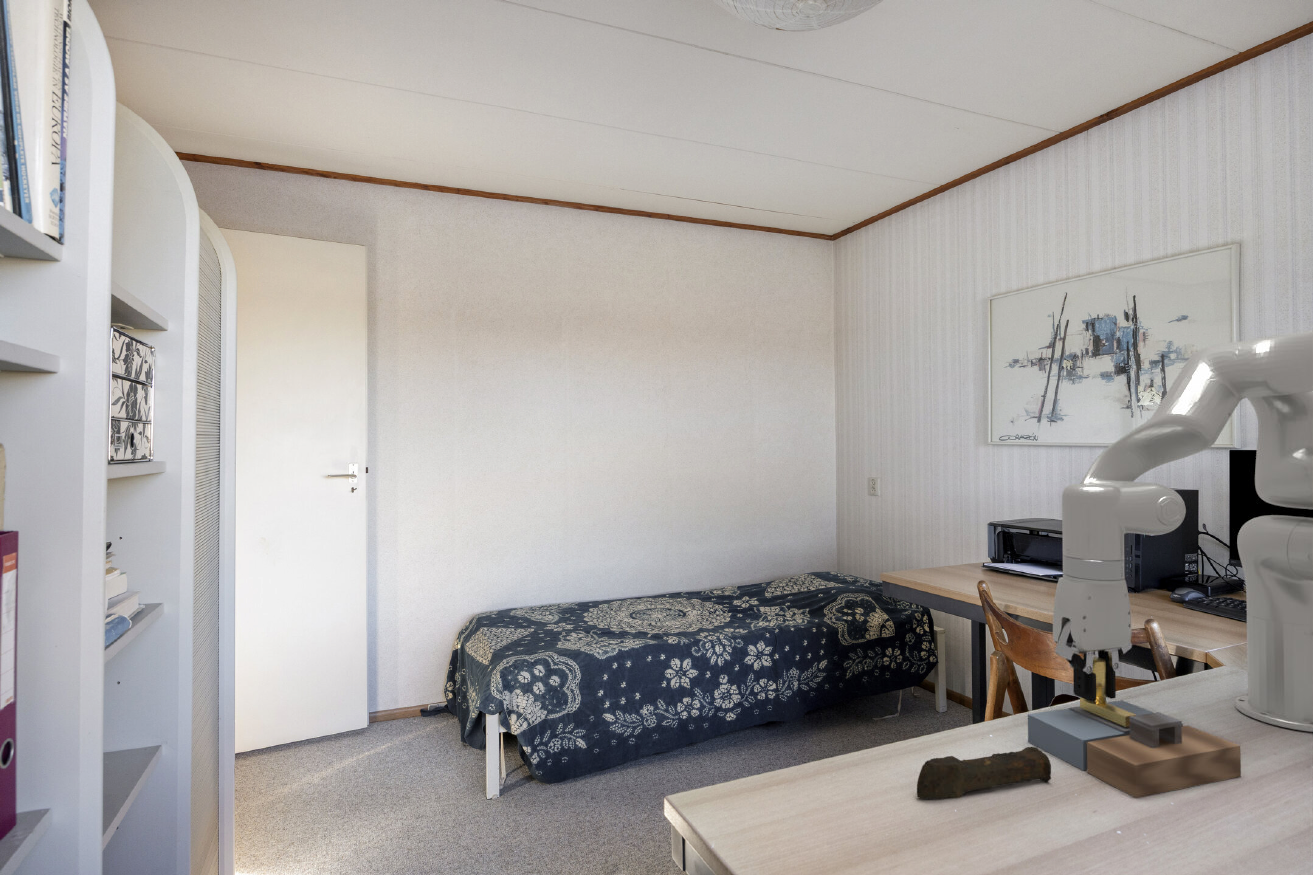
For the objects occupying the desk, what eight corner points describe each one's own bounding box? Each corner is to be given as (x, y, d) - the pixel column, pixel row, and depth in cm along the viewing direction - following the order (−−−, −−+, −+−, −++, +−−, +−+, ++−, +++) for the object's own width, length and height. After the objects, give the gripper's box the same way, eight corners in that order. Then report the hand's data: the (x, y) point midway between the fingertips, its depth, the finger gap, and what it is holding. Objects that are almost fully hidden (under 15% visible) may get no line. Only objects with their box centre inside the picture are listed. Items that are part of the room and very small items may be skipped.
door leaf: (1122, 726, 103) (1122, 698, 103) (1183, 752, 94) (1183, 721, 94) (1028, 741, 98) (1027, 711, 98) (1083, 770, 89) (1082, 737, 89)
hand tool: (1028, 771, 90) (1028, 736, 90) (1053, 786, 86) (1052, 749, 86) (904, 790, 85) (903, 753, 85) (924, 807, 81) (923, 768, 81)
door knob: (1092, 705, 99) (1092, 655, 99) (1138, 724, 92) (1138, 670, 93) (1077, 707, 98) (1077, 657, 98) (1123, 727, 92) (1122, 672, 92)
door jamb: (1187, 754, 94) (1187, 704, 94) (1240, 776, 87) (1240, 723, 87) (1087, 772, 88) (1086, 719, 89) (1135, 797, 82) (1135, 741, 82)
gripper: (1112, 562, 103) (1113, 682, 103) (1026, 568, 99) (1028, 693, 99) (1161, 570, 96) (1162, 699, 96) (1071, 577, 92) (1072, 713, 91)
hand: (1094, 695), depth 97 cm, fingers closed on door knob, 2 cm apart
